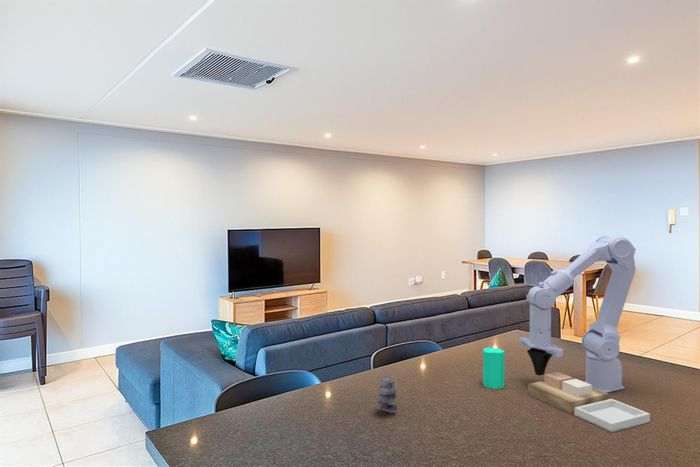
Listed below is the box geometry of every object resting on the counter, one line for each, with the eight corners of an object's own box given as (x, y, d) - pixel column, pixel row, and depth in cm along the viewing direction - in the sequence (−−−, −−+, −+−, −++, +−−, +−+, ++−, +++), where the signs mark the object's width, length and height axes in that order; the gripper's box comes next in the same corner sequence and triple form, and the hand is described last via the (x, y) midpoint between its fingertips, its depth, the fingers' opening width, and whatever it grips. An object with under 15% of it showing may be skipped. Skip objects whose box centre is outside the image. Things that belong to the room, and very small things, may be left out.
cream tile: (575, 387, 124) (575, 378, 124) (591, 394, 119) (591, 384, 119) (562, 390, 122) (562, 381, 122) (578, 397, 117) (578, 387, 117)
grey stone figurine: (399, 410, 117) (399, 371, 116) (394, 418, 112) (394, 379, 111) (379, 407, 118) (379, 369, 118) (374, 415, 113) (373, 376, 113)
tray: (611, 406, 119) (611, 398, 119) (649, 421, 110) (650, 413, 109) (574, 415, 113) (574, 407, 113) (611, 432, 104) (611, 424, 104)
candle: (505, 389, 130) (505, 348, 130) (484, 388, 132) (484, 347, 131) (502, 382, 136) (503, 342, 136) (482, 380, 137) (482, 341, 137)
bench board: (564, 386, 132) (564, 376, 132) (608, 404, 120) (608, 393, 120) (528, 394, 127) (528, 383, 127) (570, 413, 114) (570, 402, 114)
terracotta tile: (557, 380, 129) (557, 371, 129) (572, 386, 125) (572, 377, 125) (544, 383, 127) (544, 374, 127) (559, 389, 123) (559, 380, 123)
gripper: (511, 324, 137) (511, 368, 137) (550, 335, 123) (549, 384, 124) (529, 322, 139) (528, 365, 140) (568, 332, 126) (568, 381, 127)
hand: (539, 374), depth 132 cm, fingers closed
